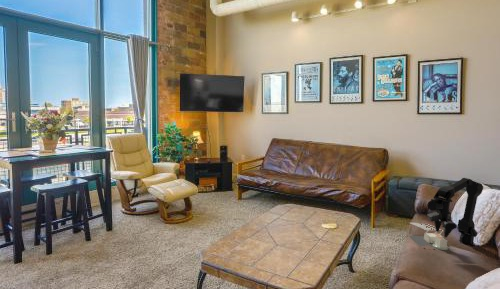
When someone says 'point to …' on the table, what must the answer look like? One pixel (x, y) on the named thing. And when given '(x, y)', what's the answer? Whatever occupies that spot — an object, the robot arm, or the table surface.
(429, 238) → the cream labeled box
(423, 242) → the mat
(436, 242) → the cream block
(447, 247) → the coaster
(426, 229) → the crown molding
